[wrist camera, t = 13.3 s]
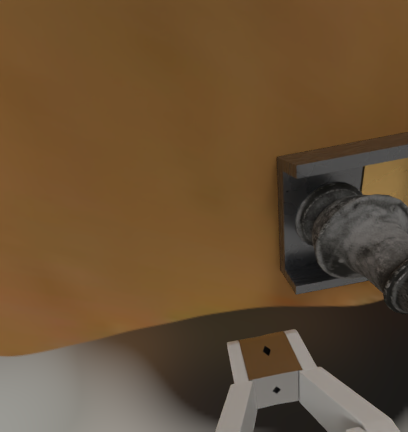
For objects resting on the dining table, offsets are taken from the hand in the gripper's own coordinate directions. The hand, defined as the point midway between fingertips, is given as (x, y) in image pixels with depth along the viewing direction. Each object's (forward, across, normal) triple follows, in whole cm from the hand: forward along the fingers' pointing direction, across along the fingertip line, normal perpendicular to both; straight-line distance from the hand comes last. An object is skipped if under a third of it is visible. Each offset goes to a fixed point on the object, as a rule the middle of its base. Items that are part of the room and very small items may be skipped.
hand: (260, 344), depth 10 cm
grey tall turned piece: (+8, -8, -1) cm, 12 cm away
